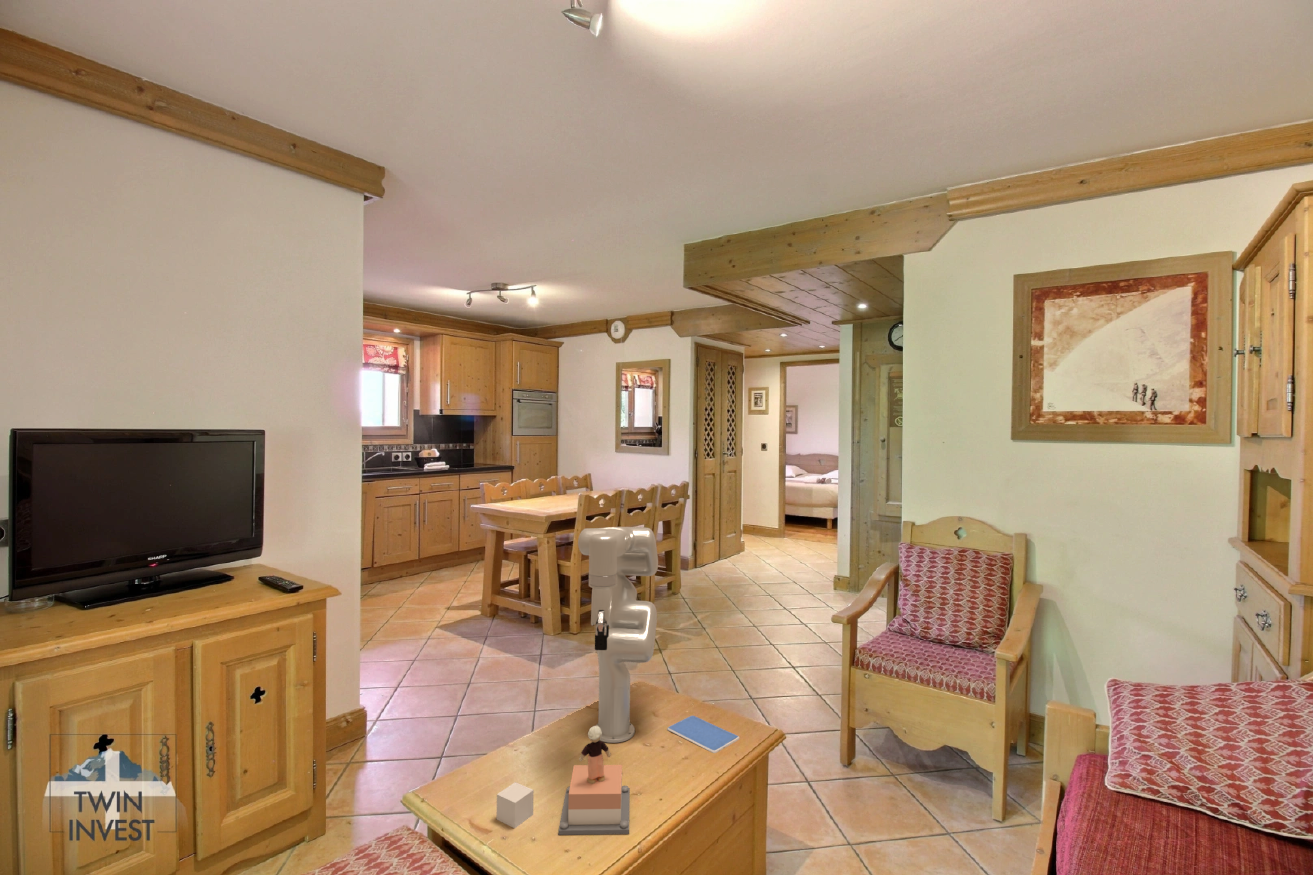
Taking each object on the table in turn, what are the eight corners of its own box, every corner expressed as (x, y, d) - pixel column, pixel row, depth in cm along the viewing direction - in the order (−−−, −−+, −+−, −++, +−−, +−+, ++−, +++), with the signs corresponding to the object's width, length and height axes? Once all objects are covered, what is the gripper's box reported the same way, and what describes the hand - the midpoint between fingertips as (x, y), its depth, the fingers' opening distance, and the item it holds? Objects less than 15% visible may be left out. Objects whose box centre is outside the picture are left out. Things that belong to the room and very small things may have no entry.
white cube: (496, 819, 139) (496, 794, 139) (514, 806, 144) (515, 781, 144) (515, 828, 136) (515, 802, 136) (533, 814, 141) (533, 789, 141)
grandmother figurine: (604, 771, 146) (605, 719, 146) (612, 778, 142) (612, 726, 142) (576, 780, 141) (576, 727, 141) (583, 788, 138) (583, 734, 138)
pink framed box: (566, 792, 150) (566, 760, 150) (629, 791, 151) (630, 760, 151) (558, 834, 134) (558, 799, 134) (629, 833, 135) (629, 798, 135)
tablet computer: (740, 740, 178) (741, 735, 178) (714, 755, 169) (714, 751, 169) (692, 718, 192) (692, 714, 192) (665, 731, 183) (665, 727, 183)
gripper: (591, 572, 169) (590, 632, 169) (586, 588, 151) (585, 655, 152) (617, 572, 169) (616, 632, 169) (615, 588, 152) (614, 655, 152)
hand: (601, 643), depth 160 cm, fingers open, 9 cm apart
